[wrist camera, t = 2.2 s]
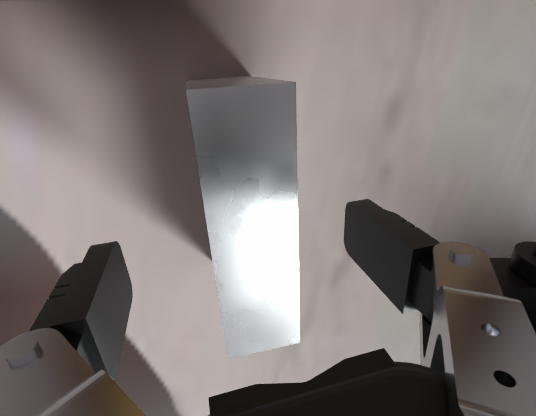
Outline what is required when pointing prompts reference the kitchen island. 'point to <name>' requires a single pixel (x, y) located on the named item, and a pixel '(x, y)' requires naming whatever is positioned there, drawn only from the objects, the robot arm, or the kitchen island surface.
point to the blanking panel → (250, 205)
